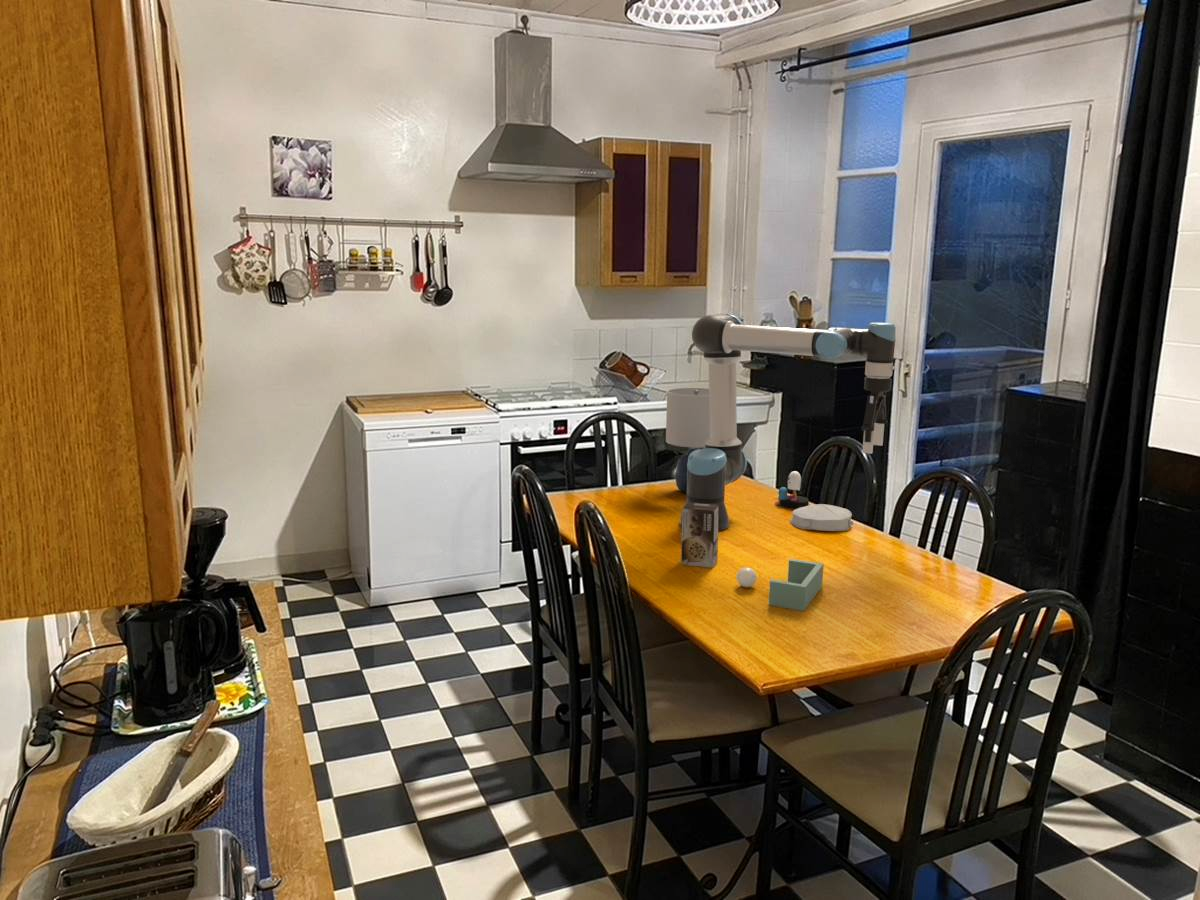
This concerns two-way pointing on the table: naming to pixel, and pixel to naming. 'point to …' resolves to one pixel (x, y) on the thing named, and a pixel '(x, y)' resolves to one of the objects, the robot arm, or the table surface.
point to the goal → (797, 585)
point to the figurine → (793, 500)
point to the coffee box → (700, 534)
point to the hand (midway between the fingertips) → (872, 449)
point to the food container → (822, 518)
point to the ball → (746, 577)
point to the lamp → (687, 425)
